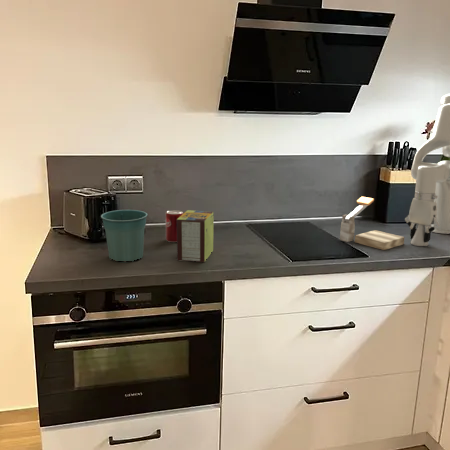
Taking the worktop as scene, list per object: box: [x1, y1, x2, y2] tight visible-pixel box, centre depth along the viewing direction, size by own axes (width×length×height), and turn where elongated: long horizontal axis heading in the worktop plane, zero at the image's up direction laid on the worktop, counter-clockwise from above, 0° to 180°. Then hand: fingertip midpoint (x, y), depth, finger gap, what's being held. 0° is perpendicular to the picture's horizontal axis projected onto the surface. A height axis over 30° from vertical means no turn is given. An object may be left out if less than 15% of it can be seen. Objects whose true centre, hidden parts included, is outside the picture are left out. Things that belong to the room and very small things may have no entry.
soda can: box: [164, 209, 184, 243], centre depth 212 cm, size 7×7×12 cm
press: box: [339, 214, 405, 251], centre depth 215 cm, size 16×20×10 cm
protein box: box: [176, 209, 215, 263], centre depth 193 cm, size 10×15×16 cm
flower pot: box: [100, 209, 148, 262], centre depth 189 cm, size 16×16×16 cm
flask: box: [410, 224, 429, 247], centre depth 213 cm, size 7×7×10 cm
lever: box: [345, 196, 375, 222], centre depth 219 cm, size 15×6×3 cm, turn 129°
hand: (419, 239), depth 213 cm, fingers closed on flask, 5 cm apart
